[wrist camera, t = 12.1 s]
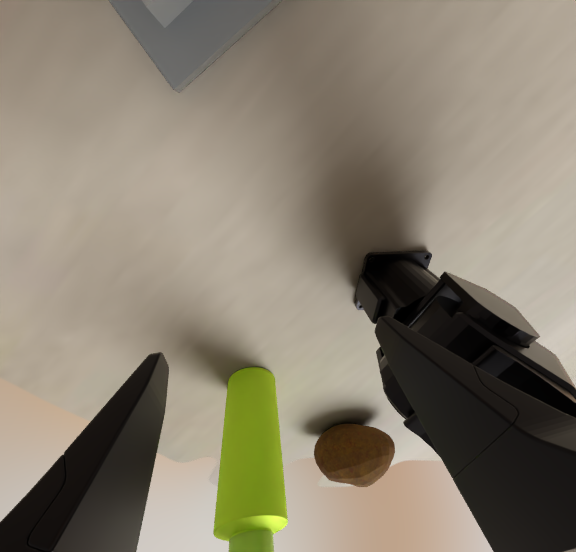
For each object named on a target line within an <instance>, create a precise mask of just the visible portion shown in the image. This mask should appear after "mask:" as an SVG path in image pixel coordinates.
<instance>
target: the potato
mask: <svg viewBox="0 0 576 552" xmlns="http://www.w3.org/2000/svg"><path fill="white" fill-rule="evenodd" d="M394 453H395V446H394V442H393V440H392V439H391V437H390V436H389V435H387V434H386V433H385V432H383V431H381V430H379V429H377V428H374V427H369V426H363V425H357V424H340V425H336V426H334V427H331V428H330V429H328V430H327V431H325V432H324V433H323V434H322V435H321V436H320V437H319V439H318V441H317V443H316V445H315V450H314V456H315V460H316V463H317V465H318V467H319V468H320V470H321V472H322V473H323V474H324V475H325V476H326V477H327V478H328V479H329V480H331V481H335V482H340V483H347V484H352V485H355V486H358V487H368V486H370V485H372V484H373V483H374V482H376V481H377V480H378V479H379V478H380V477H382V476H383V475H384V474H385V472H386V471H387V470H388V468H389V466H390V464H391V461H392V459H393V457H394Z"/></svg>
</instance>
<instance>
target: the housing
mask: <svg viewBox="0 0 576 552" xmlns="http://www.w3.org/2000/svg"><path fill="white" fill-rule="evenodd" d="M281 1H282V0H109V2H110V3H111V4H112V6H113V7H114V9H115V10H116V11H117V13H118V14H119V15H120V17H121V18H122V20H123V21H124V22H125V24H126V25H127V26H128V28H129V29H130V31H131V32H132V33H133V35H134V36H135V37H136V39H137V40H138V42H139V43H140V44H141V46H142V47H143V48H144V50H145V51H146V53H147V54H148V55H149V57H150V58H151V60H152V61H153V62H154V64H155V65H156V66H157V68H158V69H159V71H160V72H161V73H162V75H163V76H164V77H165V79H166V80H167V82H168V83H169V84H170V86H171V87H172V88H173V90H175V91H177V92H180V91H182V90H183V89H184V88H185V87H186V86H187V85H188V84H189V83H191V82H192V81H193V80H194V79H195V78H196V77H197V76H198V75H199V74H201V73H202V72H203V71H204V70H205V69H206V68H207V67H208V66H210V65H211V64H212V63H213V62H214V61H215V60H216V59H217V58H219V57H220V56H221V55H222V54H223V53H224V52H225V51H226V50H227V49H229V48H230V47H231V46H232V45H233V44H234V43H235V42H236V41H238V40H239V39H240V38H241V37H242V36H243V35H244V34H245V33H246V32H248V31H249V30H250V29H251V28H252V27H253V26H254V25H255V24H257V23H258V22H259V21H260V20H261V19H262V18H263V17H264V16H265V15H267V14H268V13H269V12H270V11H271V10H272V9H273V8H274V7H276V6H277V5H278V4H279V3H280V2H281Z"/></svg>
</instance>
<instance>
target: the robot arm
mask: <svg viewBox="0 0 576 552" xmlns="http://www.w3.org/2000/svg"><path fill="white" fill-rule="evenodd" d="M426 255H427V256H426ZM425 256H426V257H425ZM371 257H373V258H372V259H371V260H369V259H370V258H371ZM424 257H425V258H424ZM431 257H432V254H431V253H430V252H428V251H406V252H380V253H369V254H367V255H366V257H365V261H364V266H363V270H362V274H361V275H360V277H359V282H358V286H357V291H356V303H355V306H356V308H357V309H358V310H364V311H365V312H366V314H367V315H368V317H369V319H370V320H371V322H372V323H374V324H377V325H376V328H375V334H376V337H377V339H378V341H379V344H380V346H381V347H379V349H378V350H377V351H376V354H377V358H378V363H379V368H380V373H381V377H382V382H383V389H384V392H385V394H386V396H387V398H388V400H389V401H390V403H391V404H392V406H393V407H394V408H395V409H396V411H397V412H398V413H399V414H400V415H401V416H402V417H404V418H405V419H406V420H405V421H404V422H403V423H404V425H405V426H406V427H407V428H408V429H409V430H411V431H412V432H414V433H415V434H417V435H418V436H419V437H421V438H422V439H423V440H424V441H425V442H426V443H427V444H428V445H429V446H431V447H432V448H433V449H434V451H435V452H436V453H437V454H438V455H439V456H440V457H441V459H442V461H443V462H444V464H445V466H446V468H447V469H448V471H449V473H450V475H451V477H452V478H453V480H454V482H455V484H456V486H457V487H458V489H459V491H460V493H461V495H462V496H463V498H464V500H465V502H466V503H467V505H468V507H469V509H470V511H471V512H472V514H473V516H474V518H475V519H476V521H477V523H478V525H479V527H480V528H481V530H482V532H483V534H484V535H485V537H486V539H487V541H488V543H489V544H490V546H491V548H492V550H493V551H494V552H576V388H575V386H574V384H573V382H572V381H571V379H570V377H569V376H568V374H567V372H566V371H565V369H564V367H563V366H562V364H561V362H560V361H559V359H558V358H557V356H556V355H555V354H553V353H552V352H551V351H549V350H548V349H546V348H545V347H543V346H542V345H540V344H539V343H537V342H536V341H535V340H536V339H538V338H539V337H540V336H539V334H538V333H537V332H536V331H535V330H534V329H533V327H532V326H531V325H530V324H529V323H528V322H527V320H526V319H525V318H524V317H523V316H522V314H521V313H520V312H519V311H518V310H517V309H516V308H515V307H514V306H512V305H511V304H509V303H508V302H506V301H504V300H503V299H501V298H500V297H498V296H496V295H495V294H493V293H492V292H490V291H488V290H487V289H485V288H483V287H480V286H478V285H476V284H473V283H471V282H469V281H466V280H464V279H462V278H459V277H457V276H455V275H452V274H450V273H447V272H444V273H443V274H442V275H441V276H440V278H441V279H440V278H438V277H437V276H436V275H434V274H433V273H432V272H431V271H429V270H428V269H427V268H428V265H429V263H430V260H431ZM359 305H360V306H359ZM168 375H169V367H168V364H167V362H166V359H165V357H164V355H163V353H161V352H159V353H153V354H150V355H148V356H147V358H146V359H145V360H144V361H143V362H142V363H141V364H140V366H139V367H138V368H137V369H136V370H135V371H134V373H133V374H132V375H131V376H130V377H129V378H128V379H127V381H126V382H125V383H124V384H123V385H122V386H121V387H120V389H119V390H118V391H117V392H116V393H115V394H114V396H113V397H112V398H111V399H110V400H109V401H108V402H107V404H106V405H105V406H104V407H103V408H102V409H101V411H100V412H99V413H98V414H97V415H96V416H95V417H94V419H93V420H92V421H91V422H90V423H89V424H88V426H87V427H86V428H85V429H84V430H83V431H82V432H81V434H80V435H79V436H78V437H77V438H76V439H75V440H74V442H73V443H72V444H71V445H70V446H69V447H68V449H67V450H66V451H65V452H64V455H62V456H61V457H60V458H59V459H58V460H57V461H56V462H55V463H54V465H53V466H52V467H51V468H50V469H49V470H48V472H46V474H45V475H44V476H43V477H42V478H41V479H40V480H39V481H38V483H37V484H36V485H35V486H34V487H33V488H32V489H31V490H30V492H28V493H27V495H26V496H25V497H24V498H23V499H22V500H21V501H20V502H19V503H18V504H17V505H16V506H15V507H14V508H13V509H12V511H10V513H9V514H8V515H7V516H6V517H5V518H4V519H3V520H2V521H1V522H0V552H136V550H137V544H138V540H139V535H140V530H141V525H142V521H143V516H144V511H145V506H146V501H147V497H148V492H149V487H150V482H151V477H152V472H153V468H154V462H155V458H156V453H157V448H158V444H159V439H160V434H161V429H162V424H163V420H164V414H165V407H166V397H167V386H168Z"/></svg>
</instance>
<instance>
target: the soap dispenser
mask: <svg viewBox="0 0 576 552" xmlns="http://www.w3.org/2000/svg"><path fill="white" fill-rule="evenodd" d="M287 520H288V519H287V509H286V497H285V486H284V476H283V464H282V453H281V442H280V431H279V420H278V409H277V397H276V386H275V378H274V376H273V374H272V373H271V372H270V371H268V370H266V369H263V368H258V367H250V368H244V369H241V370H239V371H237V372H235V373H234V374H233V375H232V376H231V377H230V378H229V380H228V388H227V398H226V408H225V419H224V429H223V439H222V450H221V460H220V470H219V481H218V491H217V502H216V512H215V522H214V523H215V524H214V536H215V537H216V538H218V539H221V540H226V541H229V552H274V546H273V534H274V533H276V532H278V531H280V530H281V529H283V528H284V527H285V526H286V525H287V523H288V521H287Z"/></svg>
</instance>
